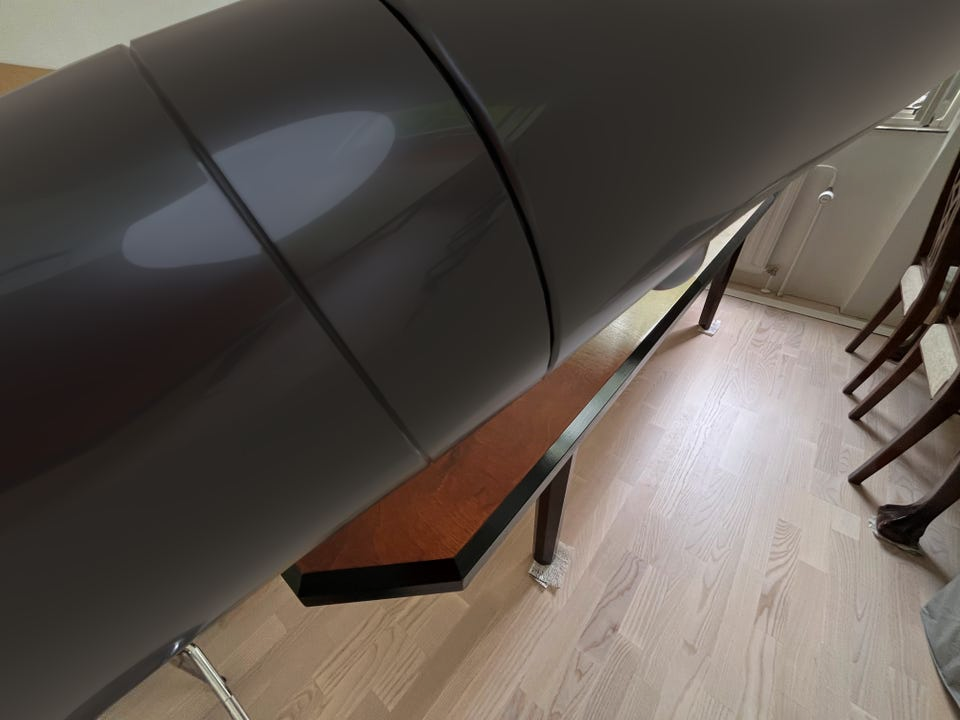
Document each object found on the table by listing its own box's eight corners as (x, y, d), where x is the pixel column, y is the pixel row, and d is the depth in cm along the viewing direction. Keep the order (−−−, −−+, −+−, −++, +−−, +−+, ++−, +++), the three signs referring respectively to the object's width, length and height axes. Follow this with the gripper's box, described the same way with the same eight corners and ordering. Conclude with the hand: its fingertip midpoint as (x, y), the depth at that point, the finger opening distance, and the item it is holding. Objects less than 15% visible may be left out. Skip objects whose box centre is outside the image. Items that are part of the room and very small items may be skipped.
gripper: (509, 209, 46) (366, 224, 43) (550, 253, 34) (361, 277, 32) (509, 267, 50) (380, 284, 48) (545, 323, 39) (379, 348, 37)
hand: (373, 281), depth 40 cm, fingers closed on ink box, 5 cm apart
